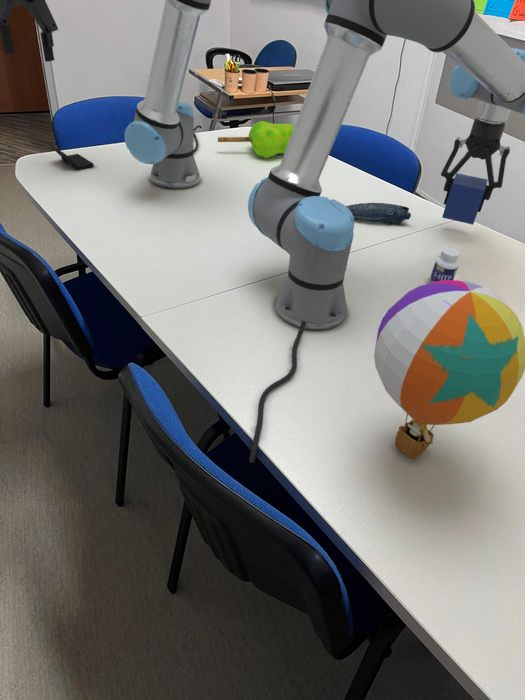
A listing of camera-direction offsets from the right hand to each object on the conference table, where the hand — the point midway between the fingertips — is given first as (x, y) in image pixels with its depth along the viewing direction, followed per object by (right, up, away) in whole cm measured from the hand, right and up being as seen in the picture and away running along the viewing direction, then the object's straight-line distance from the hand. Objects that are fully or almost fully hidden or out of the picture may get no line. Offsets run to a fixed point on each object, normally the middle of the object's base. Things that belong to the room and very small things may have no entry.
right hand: (462, 206), depth 143 cm
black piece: (-117, +21, +26) cm, 121 cm away
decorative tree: (-57, +32, +47) cm, 80 cm away
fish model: (-23, -1, +9) cm, 25 cm away
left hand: (-119, +40, -2) cm, 125 cm away
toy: (-31, -56, -60) cm, 88 cm away
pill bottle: (-12, -24, -18) cm, 32 cm away
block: (0, -2, +2) cm, 3 cm away
